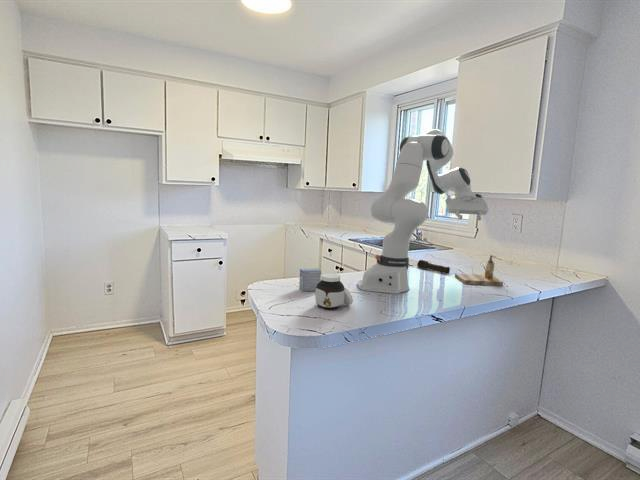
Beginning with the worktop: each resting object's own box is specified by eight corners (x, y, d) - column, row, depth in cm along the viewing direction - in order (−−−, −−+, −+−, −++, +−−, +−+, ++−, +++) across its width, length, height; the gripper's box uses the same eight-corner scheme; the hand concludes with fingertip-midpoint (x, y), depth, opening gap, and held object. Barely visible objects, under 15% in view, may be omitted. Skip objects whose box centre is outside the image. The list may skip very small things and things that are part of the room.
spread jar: (311, 306, 130) (313, 275, 129) (328, 299, 140) (330, 269, 138) (340, 314, 124) (342, 281, 122) (356, 305, 133) (358, 275, 131)
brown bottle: (486, 278, 175) (489, 256, 173) (483, 276, 178) (485, 254, 177) (494, 278, 175) (496, 256, 173) (490, 276, 178) (493, 254, 177)
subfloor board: (464, 283, 171) (464, 279, 170) (454, 276, 184) (455, 273, 183) (502, 285, 170) (503, 281, 170) (490, 278, 183) (491, 274, 183)
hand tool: (450, 274, 190) (451, 265, 190) (445, 274, 188) (446, 266, 187) (420, 266, 205) (421, 258, 204) (415, 267, 203) (416, 259, 202)
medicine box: (316, 287, 154) (317, 267, 153) (320, 290, 150) (321, 270, 149) (298, 288, 151) (299, 268, 150) (302, 292, 147) (303, 271, 146)
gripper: (446, 193, 189) (451, 214, 180) (486, 195, 188) (492, 216, 180) (443, 202, 194) (447, 222, 186) (481, 203, 193) (487, 223, 185)
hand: (470, 219), depth 183 cm, fingers open, 8 cm apart
